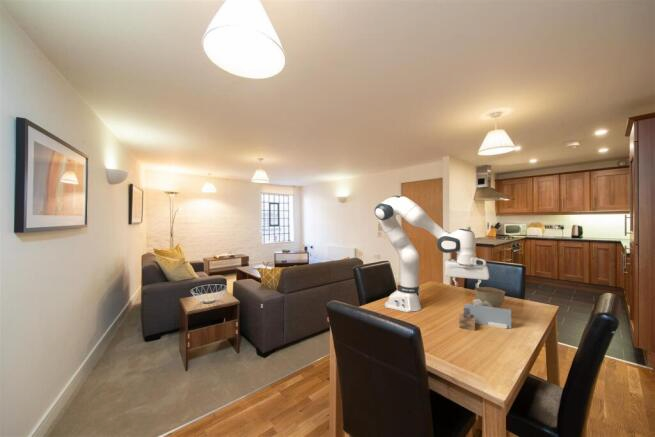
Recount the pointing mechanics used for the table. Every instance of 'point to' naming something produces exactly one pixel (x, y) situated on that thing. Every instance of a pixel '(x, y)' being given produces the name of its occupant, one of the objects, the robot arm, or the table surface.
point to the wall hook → (481, 303)
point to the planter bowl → (490, 295)
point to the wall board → (491, 315)
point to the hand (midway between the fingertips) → (466, 286)
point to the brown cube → (466, 320)
